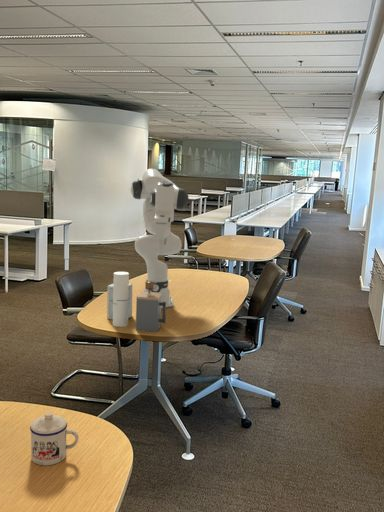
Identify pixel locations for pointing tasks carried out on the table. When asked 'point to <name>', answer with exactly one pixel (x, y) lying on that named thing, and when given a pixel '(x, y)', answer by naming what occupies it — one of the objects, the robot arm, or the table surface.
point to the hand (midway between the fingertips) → (163, 246)
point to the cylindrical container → (120, 299)
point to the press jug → (149, 311)
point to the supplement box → (110, 301)
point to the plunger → (149, 286)
